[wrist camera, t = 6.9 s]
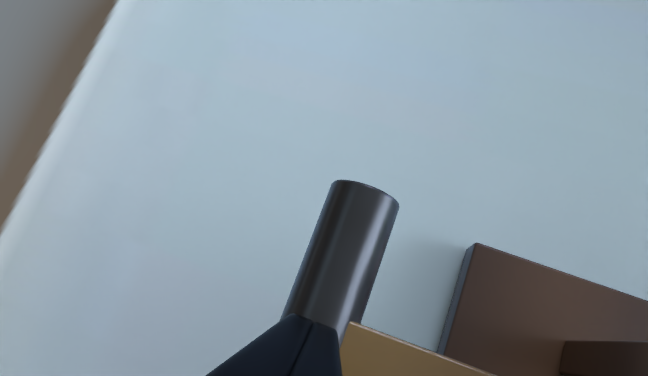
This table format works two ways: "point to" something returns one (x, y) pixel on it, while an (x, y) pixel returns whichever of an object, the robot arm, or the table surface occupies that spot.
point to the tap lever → (358, 286)
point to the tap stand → (541, 321)
